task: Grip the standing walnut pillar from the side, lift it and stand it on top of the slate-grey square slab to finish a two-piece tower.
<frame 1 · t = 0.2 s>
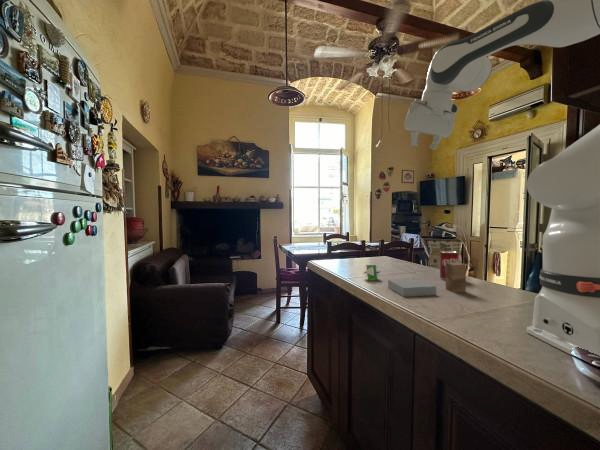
hand: (423, 147, 89), 52 cm above the counter, tool tilted 20°, fingers open, 8 cm apart
geometric puzzle: (372, 280, 114), on the counter
pillar: (455, 290, 94), on the counter
soda can: (449, 279, 112), on the counter
slab: (410, 291, 94), on the counter
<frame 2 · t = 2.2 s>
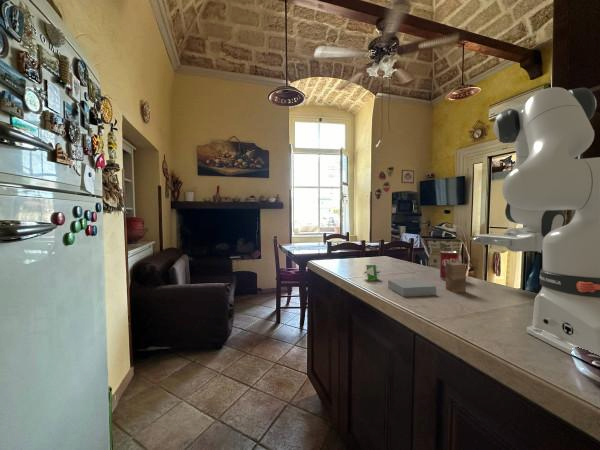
hand: (483, 241, 95), 18 cm above the counter, tool horizontal, fingers open, 8 cm apart
nothing on the counter moved.
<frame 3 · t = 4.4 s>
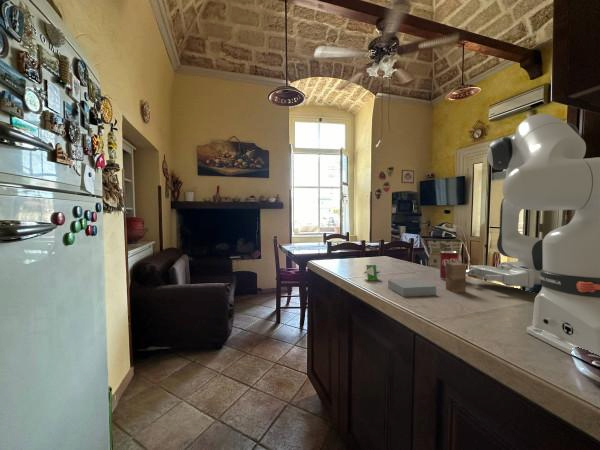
hand: (476, 275, 94), 5 cm above the counter, tool horizontal, fingers open, 8 cm apart
nothing on the counter moved.
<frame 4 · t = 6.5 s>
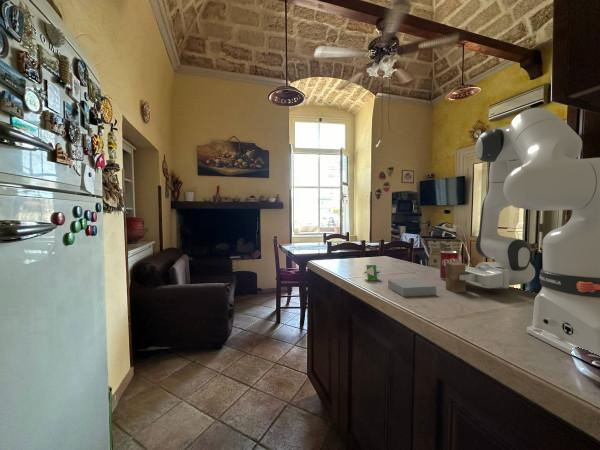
hand: (453, 275, 94), 6 cm above the counter, tool horizontal, fingers closed on pillar, 4 cm apart
pillar: (455, 290, 94), on the counter, touching gripper
everything else where it was.
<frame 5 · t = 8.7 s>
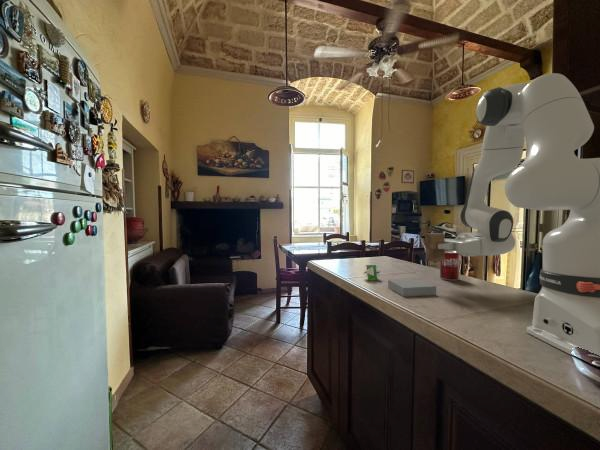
hand: (432, 245, 94), 17 cm above the counter, tool horizontal, fingers closed on pillar, 4 cm apart
pillar: (435, 260, 94), point 11 cm above the counter, touching gripper
everything else where it was.
when the fingers open (10 cm above the counter, at t = 10.9 s): pillar drops 1 cm, resting on slab.
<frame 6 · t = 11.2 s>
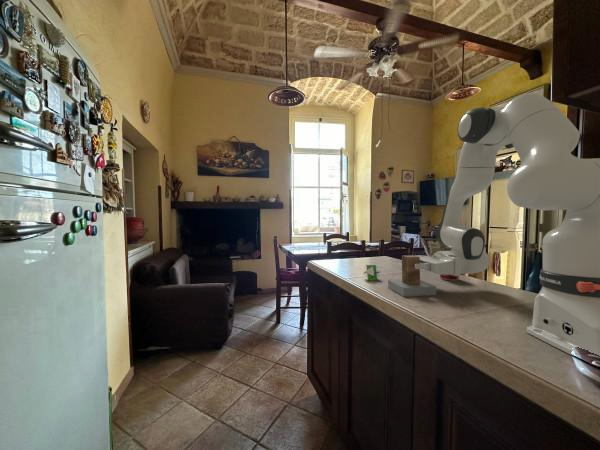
hand: (408, 264, 94), 10 cm above the counter, tool horizontal, fingers open, 7 cm apart
pillar: (410, 283, 94), point 3 cm above the counter, touching slab
everything else where it was.
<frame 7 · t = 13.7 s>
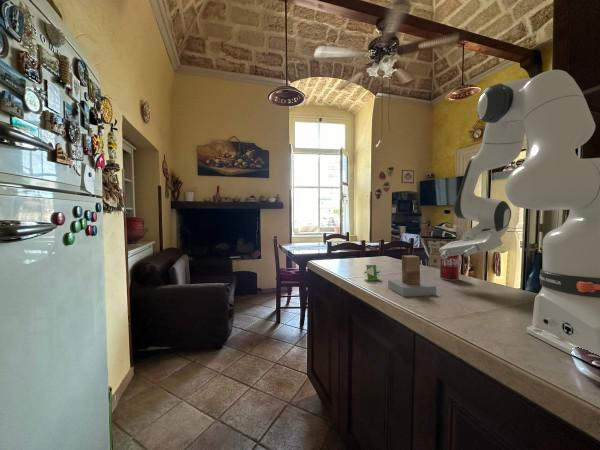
hand: (453, 255, 92), 13 cm above the counter, tool tilted 70°, fingers open, 8 cm apart
nothing on the counter moved.
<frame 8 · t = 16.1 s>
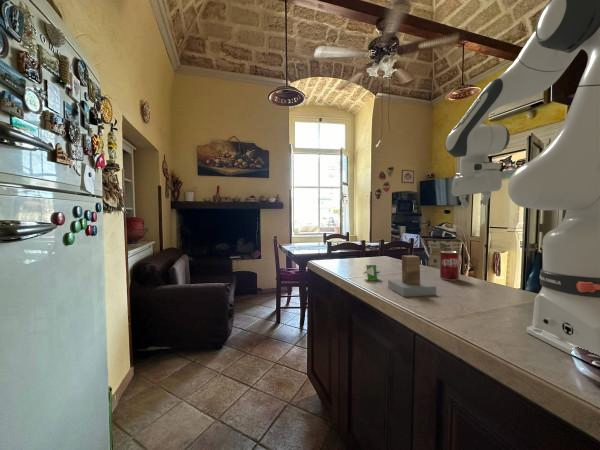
hand: (474, 206, 96), 31 cm above the counter, tool pointing down, fingers open, 8 cm apart
nothing on the counter moved.
at the end: pillar inside the target area on the slab (0.0 cm from its centre), point 3.0 cm above the slab's base; pillar tilted 0°; the gripper is holding nothing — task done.
